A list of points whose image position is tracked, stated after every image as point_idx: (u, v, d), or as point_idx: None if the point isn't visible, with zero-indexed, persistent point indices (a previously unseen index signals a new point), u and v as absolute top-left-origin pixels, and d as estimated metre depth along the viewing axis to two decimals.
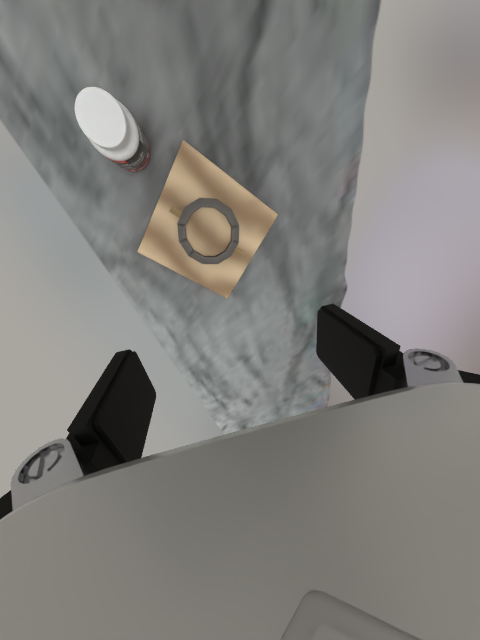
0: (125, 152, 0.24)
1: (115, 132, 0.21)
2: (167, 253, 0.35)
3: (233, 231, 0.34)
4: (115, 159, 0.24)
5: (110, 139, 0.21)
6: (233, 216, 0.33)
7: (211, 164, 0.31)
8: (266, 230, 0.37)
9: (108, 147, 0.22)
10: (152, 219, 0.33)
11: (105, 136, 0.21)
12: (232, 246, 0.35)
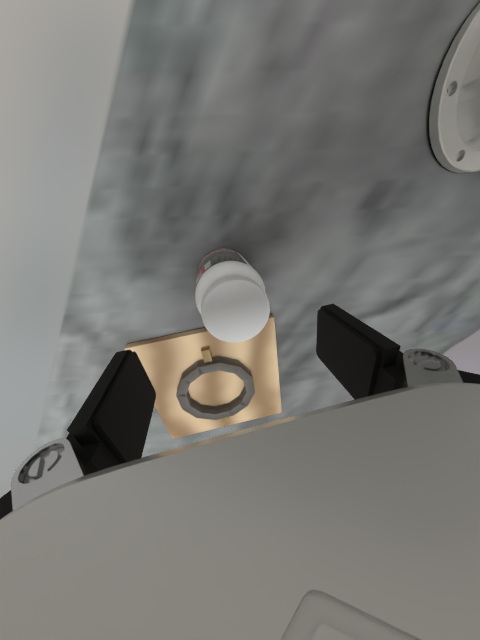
0: None
1: (235, 333, 0.14)
2: (156, 371, 0.25)
3: (238, 406, 0.29)
4: None
5: (223, 333, 0.14)
6: (251, 397, 0.28)
7: (274, 348, 0.27)
8: (262, 415, 0.33)
9: (212, 334, 0.14)
10: (176, 339, 0.24)
11: (221, 327, 0.14)
12: (224, 414, 0.29)
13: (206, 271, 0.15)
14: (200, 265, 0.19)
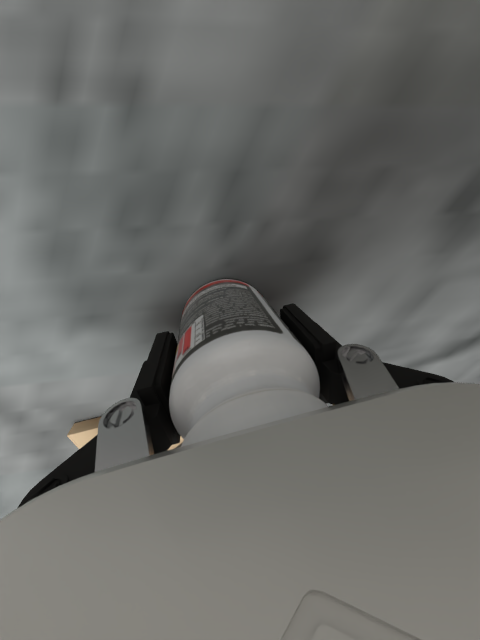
0: None
1: None
2: None
3: None
4: None
5: None
6: None
7: None
8: None
9: None
10: None
11: None
12: None
13: (193, 357, 0.06)
14: (185, 314, 0.10)
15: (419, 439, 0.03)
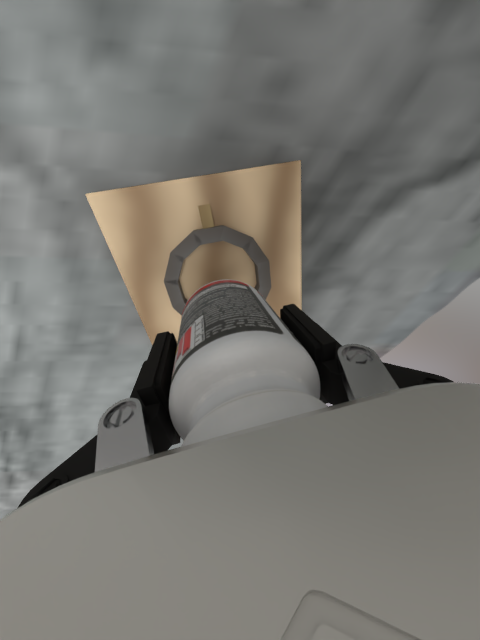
0: None
1: None
2: (135, 245, 0.18)
3: None
4: None
5: None
6: (265, 295, 0.21)
7: (298, 221, 0.20)
8: None
9: None
10: (162, 185, 0.16)
11: None
12: None
13: (192, 358, 0.06)
14: (185, 314, 0.10)
15: (419, 439, 0.03)
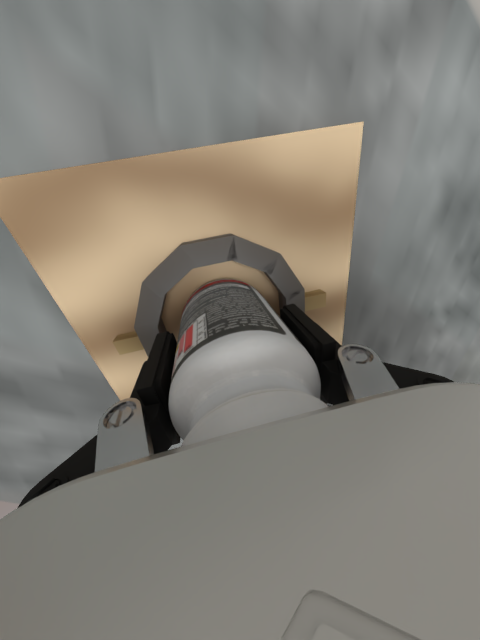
0: None
1: None
2: (284, 188, 0.11)
3: None
4: None
5: None
6: None
7: None
8: None
9: None
10: (347, 246, 0.13)
11: None
12: None
13: (195, 356, 0.06)
14: (186, 312, 0.10)
15: (419, 439, 0.03)
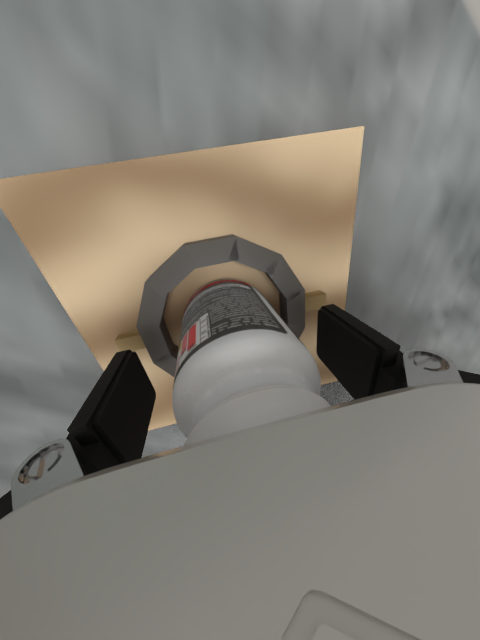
0: None
1: None
2: (286, 190, 0.11)
3: None
4: None
5: None
6: None
7: None
8: None
9: None
10: (348, 248, 0.13)
11: None
12: (157, 346, 0.12)
13: (199, 354, 0.06)
14: (188, 312, 0.10)
15: (419, 439, 0.03)
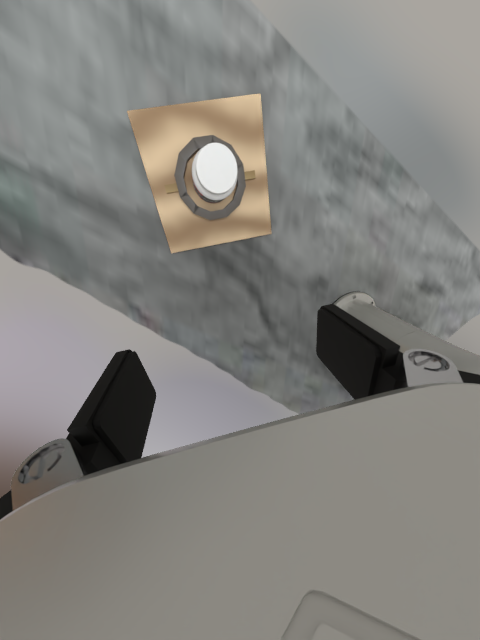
0: (208, 194, 0.25)
1: (216, 185, 0.23)
2: (232, 119, 0.28)
3: (193, 203, 0.31)
4: (197, 187, 0.25)
5: (209, 183, 0.23)
6: (204, 216, 0.32)
7: (245, 237, 0.35)
8: (167, 232, 0.33)
9: (202, 184, 0.23)
10: (263, 149, 0.30)
11: (207, 178, 0.23)
12: (182, 187, 0.29)
13: (199, 150, 0.24)
14: None
15: (419, 439, 0.03)
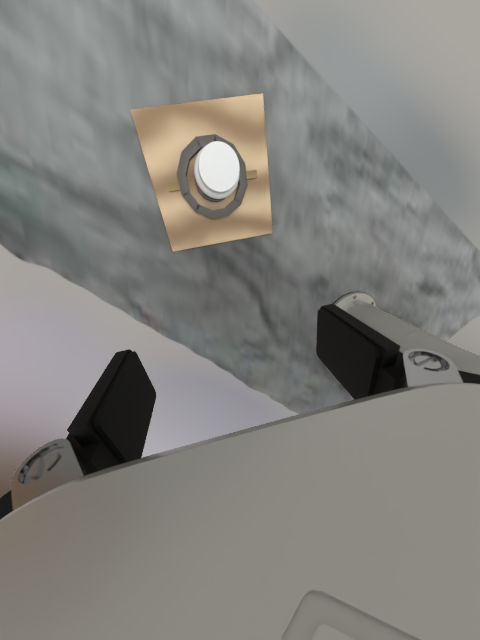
0: (210, 192, 0.25)
1: (218, 183, 0.23)
2: (235, 119, 0.28)
3: (195, 202, 0.31)
4: (199, 186, 0.25)
5: (211, 181, 0.23)
6: (206, 215, 0.32)
7: (246, 236, 0.36)
8: (168, 231, 0.33)
9: (204, 182, 0.23)
10: (265, 148, 0.30)
11: (210, 176, 0.23)
12: (184, 186, 0.30)
13: (202, 149, 0.24)
14: None
15: (419, 439, 0.03)
